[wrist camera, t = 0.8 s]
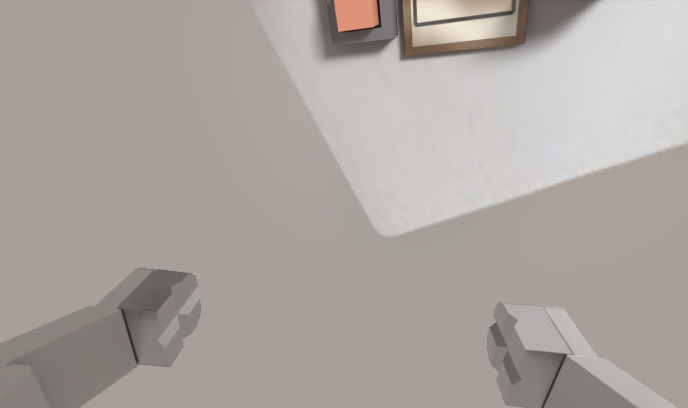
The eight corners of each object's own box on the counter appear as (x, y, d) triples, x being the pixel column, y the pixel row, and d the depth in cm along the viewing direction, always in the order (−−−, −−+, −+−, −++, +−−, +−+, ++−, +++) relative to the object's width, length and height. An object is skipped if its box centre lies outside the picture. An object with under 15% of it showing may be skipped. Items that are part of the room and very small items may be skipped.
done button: (340, -12, 43) (332, -11, 40) (375, -18, 41) (369, -17, 39) (345, 28, 45) (338, 31, 43) (379, 23, 44) (373, 27, 41)
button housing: (330, -27, 44) (322, -27, 42) (393, -39, 42) (388, -39, 39) (340, 42, 48) (333, 45, 46) (397, 34, 46) (393, 38, 43)
